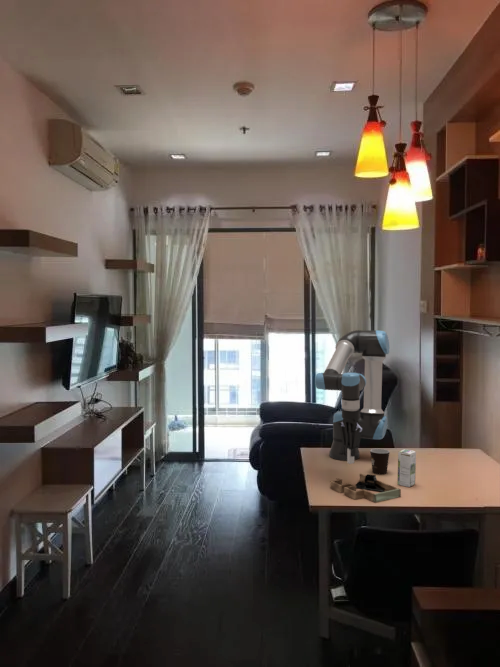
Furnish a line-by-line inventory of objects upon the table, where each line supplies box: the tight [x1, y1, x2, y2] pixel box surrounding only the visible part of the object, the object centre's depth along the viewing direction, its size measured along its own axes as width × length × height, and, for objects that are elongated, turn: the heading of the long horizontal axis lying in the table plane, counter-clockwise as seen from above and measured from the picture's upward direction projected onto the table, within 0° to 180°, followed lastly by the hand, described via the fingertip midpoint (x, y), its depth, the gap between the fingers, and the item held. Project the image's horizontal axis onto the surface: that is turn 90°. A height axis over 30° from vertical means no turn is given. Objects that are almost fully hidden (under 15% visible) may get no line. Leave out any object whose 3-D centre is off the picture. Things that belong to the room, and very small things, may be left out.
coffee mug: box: [369, 448, 390, 475], centre depth 250 cm, size 12×9×10 cm
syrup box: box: [396, 448, 417, 488], centre depth 231 cm, size 6×6×14 cm
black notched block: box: [354, 473, 385, 492], centre depth 227 cm, size 12×7×5 cm, turn 61°
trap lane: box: [329, 473, 402, 503], centre depth 222 cm, size 24×18×3 cm
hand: (350, 463), depth 233 cm, fingers closed
